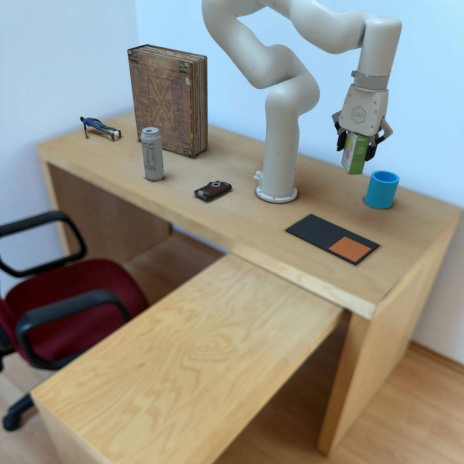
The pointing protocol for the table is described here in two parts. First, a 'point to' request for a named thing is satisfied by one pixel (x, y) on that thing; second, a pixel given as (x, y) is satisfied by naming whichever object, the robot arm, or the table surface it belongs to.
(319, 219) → the desk mat
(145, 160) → the energy drink can
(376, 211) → the table surface
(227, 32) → the robot arm
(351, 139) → the ink box
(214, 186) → the camera
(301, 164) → the table surface
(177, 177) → the table surface
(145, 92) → the book
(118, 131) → the person figurine
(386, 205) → the mug
